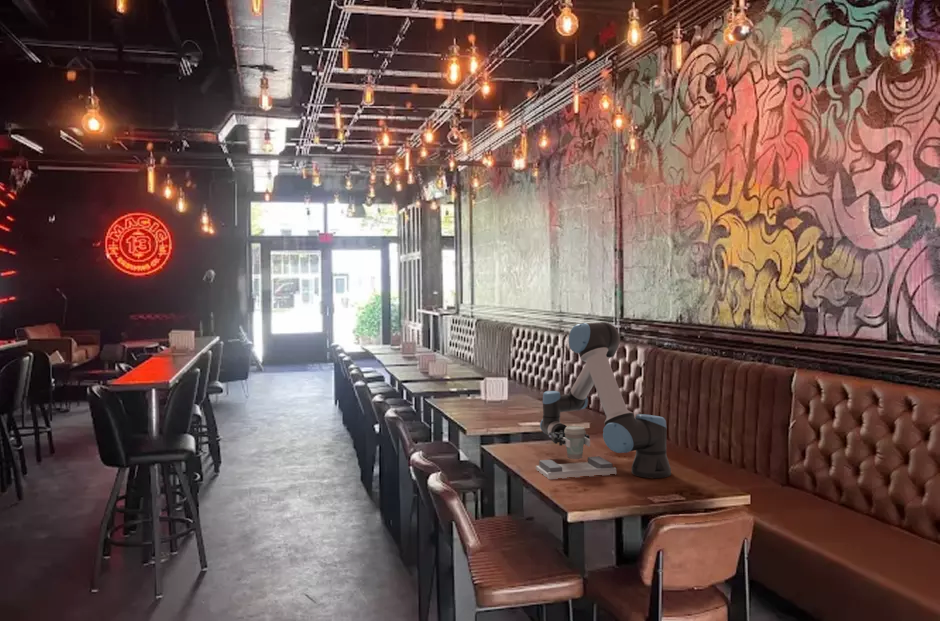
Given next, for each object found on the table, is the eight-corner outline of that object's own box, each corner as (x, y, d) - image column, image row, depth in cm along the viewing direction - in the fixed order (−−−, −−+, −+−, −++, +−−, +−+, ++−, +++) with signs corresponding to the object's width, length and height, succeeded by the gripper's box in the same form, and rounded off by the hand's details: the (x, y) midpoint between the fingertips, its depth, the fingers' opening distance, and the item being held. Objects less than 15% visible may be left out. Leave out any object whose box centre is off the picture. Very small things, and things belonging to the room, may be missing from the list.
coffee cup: (564, 459, 289) (564, 429, 288) (563, 454, 297) (563, 425, 297) (586, 460, 288) (586, 429, 288) (584, 454, 297) (584, 425, 296)
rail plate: (600, 464, 304) (599, 455, 304) (616, 474, 288) (616, 464, 288) (535, 469, 297) (535, 459, 297) (548, 479, 282) (548, 469, 282)
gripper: (581, 439, 313) (603, 451, 290) (536, 442, 308) (554, 454, 286) (581, 421, 312) (603, 432, 290) (536, 424, 308) (554, 435, 285)
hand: (579, 443), depth 288 cm, fingers closed on coffee cup, 8 cm apart
